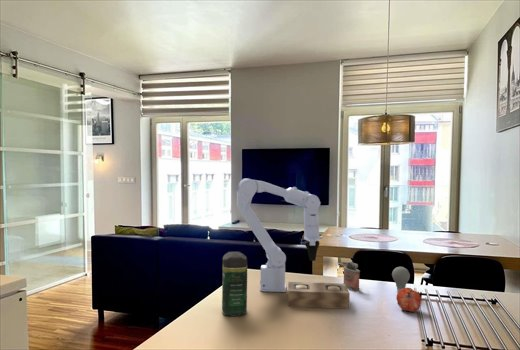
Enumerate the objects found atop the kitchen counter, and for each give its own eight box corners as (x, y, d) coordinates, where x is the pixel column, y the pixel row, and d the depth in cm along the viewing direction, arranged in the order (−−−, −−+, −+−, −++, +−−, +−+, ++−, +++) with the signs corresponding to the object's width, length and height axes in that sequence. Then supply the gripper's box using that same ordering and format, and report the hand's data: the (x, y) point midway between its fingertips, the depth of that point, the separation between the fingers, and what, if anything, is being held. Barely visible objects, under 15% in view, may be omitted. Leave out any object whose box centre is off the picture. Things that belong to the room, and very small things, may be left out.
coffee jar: (248, 316, 109) (248, 256, 109) (222, 317, 108) (223, 257, 107) (245, 304, 118) (245, 249, 118) (221, 306, 117) (221, 250, 117)
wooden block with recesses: (288, 306, 117) (288, 291, 117) (288, 295, 127) (288, 281, 127) (349, 308, 116) (349, 293, 116) (344, 297, 126) (345, 283, 125)
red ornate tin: (341, 285, 139) (341, 260, 139) (347, 284, 140) (348, 259, 140) (354, 292, 132) (354, 265, 132) (361, 290, 133) (362, 264, 133)
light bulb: (410, 293, 130) (411, 266, 130) (407, 298, 125) (408, 270, 125) (393, 290, 134) (394, 264, 134) (390, 294, 129) (390, 267, 129)
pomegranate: (395, 311, 119) (391, 301, 112) (401, 291, 122) (397, 280, 115) (419, 319, 115) (416, 309, 108) (424, 298, 118) (422, 286, 111)
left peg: (295, 302, 120) (295, 288, 120) (295, 298, 124) (295, 284, 124) (307, 303, 120) (307, 288, 120) (306, 299, 124) (307, 285, 124)
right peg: (328, 304, 119) (328, 289, 119) (327, 299, 123) (327, 285, 123) (340, 304, 119) (340, 290, 119) (338, 300, 123) (338, 286, 123)
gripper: (323, 228, 129) (324, 265, 129) (320, 222, 143) (321, 255, 143) (303, 228, 129) (304, 265, 130) (303, 222, 144) (304, 255, 144)
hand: (312, 260), depth 137 cm, fingers closed
